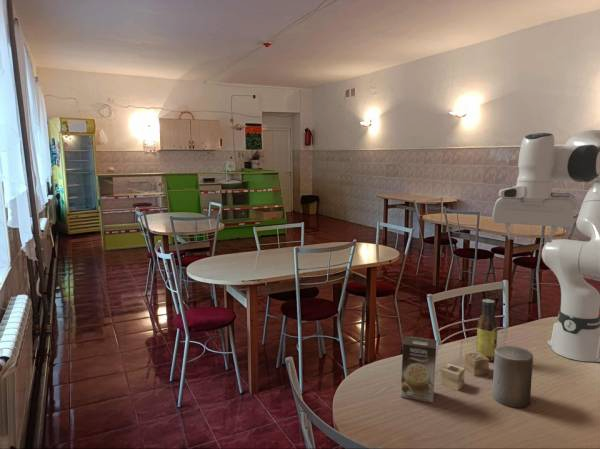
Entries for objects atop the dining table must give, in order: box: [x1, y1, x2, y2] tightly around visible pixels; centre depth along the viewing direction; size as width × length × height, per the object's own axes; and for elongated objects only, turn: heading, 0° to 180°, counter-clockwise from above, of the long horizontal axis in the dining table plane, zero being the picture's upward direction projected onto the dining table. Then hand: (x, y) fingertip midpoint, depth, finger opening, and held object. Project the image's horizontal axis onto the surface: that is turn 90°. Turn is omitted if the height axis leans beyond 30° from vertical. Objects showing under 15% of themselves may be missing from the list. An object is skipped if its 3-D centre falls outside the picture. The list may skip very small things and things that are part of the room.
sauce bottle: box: [475, 298, 499, 362], centre depth 146 cm, size 6×6×20 cm
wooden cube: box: [464, 352, 490, 377], centre depth 138 cm, size 5×5×5 cm
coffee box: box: [399, 334, 437, 403], centre depth 124 cm, size 9×6×16 cm
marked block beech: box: [440, 363, 466, 391], centre depth 130 cm, size 5×5×5 cm
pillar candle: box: [492, 344, 534, 409], centre depth 121 cm, size 10×10×15 cm
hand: (529, 240), depth 124 cm, fingers open, 8 cm apart
